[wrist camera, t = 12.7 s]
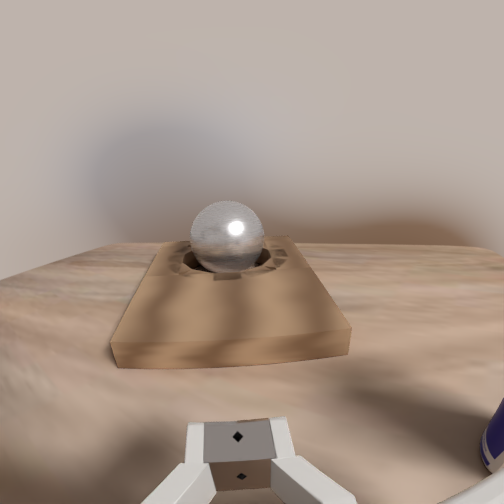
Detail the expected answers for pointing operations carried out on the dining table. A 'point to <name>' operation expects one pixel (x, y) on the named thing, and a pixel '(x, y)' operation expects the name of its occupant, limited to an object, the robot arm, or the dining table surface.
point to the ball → (227, 237)
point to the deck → (229, 313)
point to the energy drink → (494, 441)
